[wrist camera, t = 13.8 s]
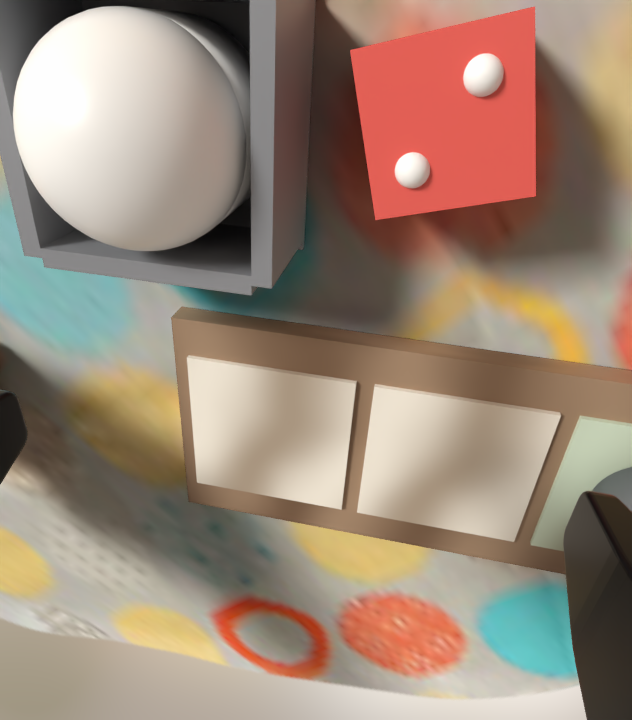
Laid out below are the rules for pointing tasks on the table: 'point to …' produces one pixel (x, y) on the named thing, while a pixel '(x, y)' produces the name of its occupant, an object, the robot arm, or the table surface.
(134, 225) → the dome
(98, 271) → the dome housing
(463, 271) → the table surface
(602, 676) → the robot arm
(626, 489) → the pawn
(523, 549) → the game board
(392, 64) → the red die
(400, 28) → the table surface
